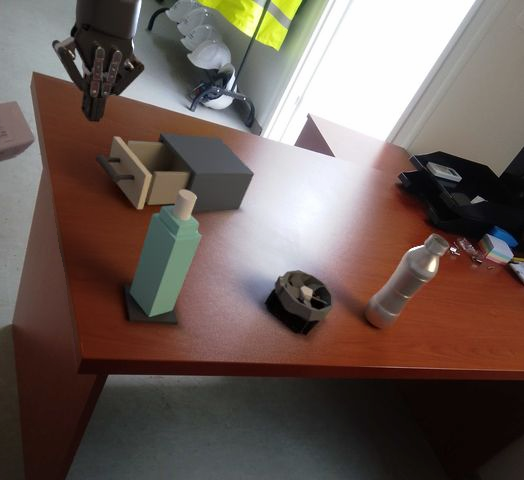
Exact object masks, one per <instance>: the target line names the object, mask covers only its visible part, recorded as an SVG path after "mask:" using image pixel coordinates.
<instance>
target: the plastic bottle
mask: <svg viewBox="0 0 524 480" xmlns="http://www.w3.org/2000/svg"><path fill="white" fill-rule="evenodd" d="M449 249H450V244H449V242H448V241H447V240H446V239H445V238H444V237H442V236H441V235H439V234H437V233H432V234H430V235H429V237H428V238H427V239H425V241H424V243H423V245H420V246H419V245H418V246H416V247H413V248H411V249H409V250H408V251H406V252H405V253H404V255H403V256H402V258H401V260H400V261H399V263H398V265H397V267H396V269H395V270H394V272H393V273H392V275H391V276H390V277H389V278H388V280H387V282H386V283H385V284H384V285H383V286H382V287H381V288H380V289H379V290H378V291H377V292H376V293H375V294H373V295H372V296H371V297H370V298H369V299H368V300H367V302H366V304H365V306H364V316H365V318H366V320H367V321H368V322H369V323H370V324H371V325H373V326H374V327H376V328H378V329H388V328H390V327H391V326H392V325H394V324H395V323H396V322H397V320H398V319H399V318H400V316H401V313H402V311H403V310H404V308H405V307H406V306H407V304H408V303H409V301H410V300H412V298H413V297H414V296H415V295H417V293H418V292H419V291H420V290H421V289H423V287H424V286H426V284H428V283H429V282H431V280H432V279H433V278H434V277H435V276H436V275H437V273H438V271H439V265H440V257H443V256H444V255H445V253H446V252H447V250H449Z"/></svg>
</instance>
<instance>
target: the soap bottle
mask: <svg viewBox="0 0 524 480" xmlns="http://www.w3.org/2000/svg"><path fill="white" fill-rule="evenodd" d="M195 201H196V195H195V194H194V193H192V192H191V191H189V190H185V189H182V190H180V191H179V193H178V196H177V199H176V202H175V204H172V205H163V206H161V208H160V210H159V212H156V213H152V216H151V218H150V222H149V225H148V229H147V233H146V236H145V239H144V242H143V246H142V250H141V253H140V255H139V256H140V257H139V260H138V263H137V266H136V270H135V273H134V277H133V280H132V283H131V285H132V287H131V290H130V294H131V295H132V296H133V297H134V299H135V300H136V301H137V303H138V304H139V305H140V306H141V308H142V309H143V310H144V312H145V313H146V314H147V315H148V317H151V316H155V315H158V314H162V313H165V312H169V311H172V310H173V307H174V308H175V305H176V302H177V300H178V297H179V295H180V292H181V289H182V287H183V285H184V281H185V279H186V277H187V274H188V272H189V269H190V266H191V264H192V261H193V259H194V257H195V254H196V252H197V249H198V247H199V244H200V242H201V239H202V235H201V234H200V232H199V231H198V230H199V227H200V223H199V222H198V220H197V219H196V218H194V216H193V215H192V213H193V212H192V209H193V207H194V204H195Z"/></svg>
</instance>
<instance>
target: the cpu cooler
mask: <svg viewBox="0 0 524 480" xmlns="http://www.w3.org/2000/svg"><path fill="white" fill-rule="evenodd" d="M263 304H264V305H265V306H266V310H267V311H269V312H270V313H271V314H272V315H273V316H275V318H278V320H280V321H281V322H282V323H284V324H285V325H287V327H288V328H290V329H292V331H293V332H296V334H298V335H299V334H303V335H304V336H305V337H306V336H307V335H308V334H309V333H310V332H311V331H312V330H313V329H314V328H315V327H316V326H317V324H319V323H320V322H321V321H323V320H325V318H326V317H327V316H328V314H329V313H330V312H331V311H332V309H333V308H334V305H335V297H334V295H333V294H332V292H331V290H330V288H329V286H328V285H327V284H326V283H325V282H324V281H322V280H320V279H318V278H317V277H315V276H314V275H312V274H310V273H307V272H306V271H305V272H304V271H302V270H300V269H297V270H290V271H288V270H287V271H286V272H285V273H284V274H283V275H279V276H278V277H277V279H276V281H275V282H274V289H272V290H271V291H270V293H269V294H268V296H267V298H266V300H265V301H264V302H263Z"/></svg>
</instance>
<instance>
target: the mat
mask: <svg viewBox="0 0 524 480" xmlns="http://www.w3.org/2000/svg"><path fill="white" fill-rule="evenodd" d="M131 287H132V284H125V283H124V285H123V292H124V298H125V304H126V310H127V317H128V322H132V323H134V322H135V323H146V324H159V325H161V324H162V325H178V323H179V322H178V316H177V313H176V312H177V311H176V309H175V306H174V307H173V310H172V311H169V312H165V313H162V314H158V315H155V316H151V317H148V315H147V314H146V313H145V312H144V310H143V309H142V308H141V306H140V305H139V304H138V303H137V301H136V300H135V299H134V297H133V296H132V295H131V294H130V290H131Z"/></svg>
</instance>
